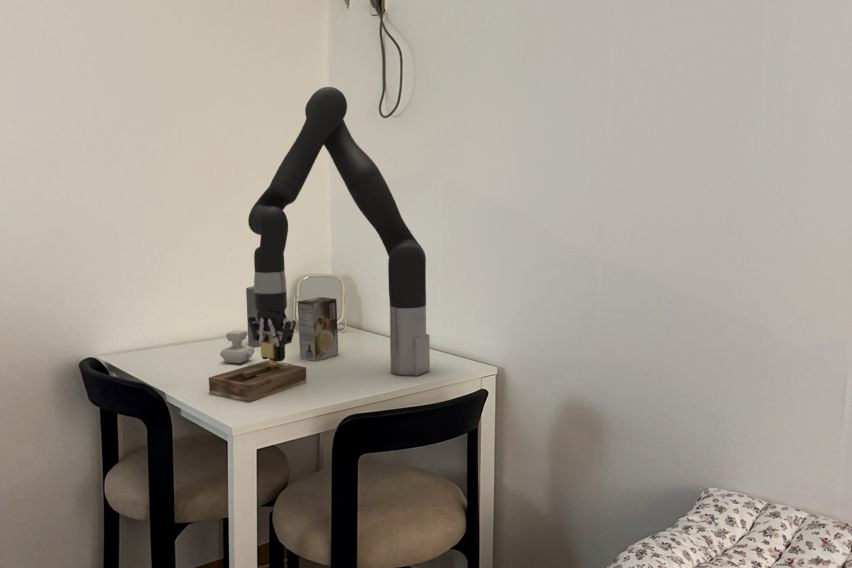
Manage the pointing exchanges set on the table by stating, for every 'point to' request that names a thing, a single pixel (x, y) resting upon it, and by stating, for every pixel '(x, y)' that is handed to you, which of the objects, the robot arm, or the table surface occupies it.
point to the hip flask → (251, 312)
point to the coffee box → (318, 328)
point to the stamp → (237, 348)
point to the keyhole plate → (257, 381)
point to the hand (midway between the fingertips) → (273, 359)
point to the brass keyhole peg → (269, 352)
